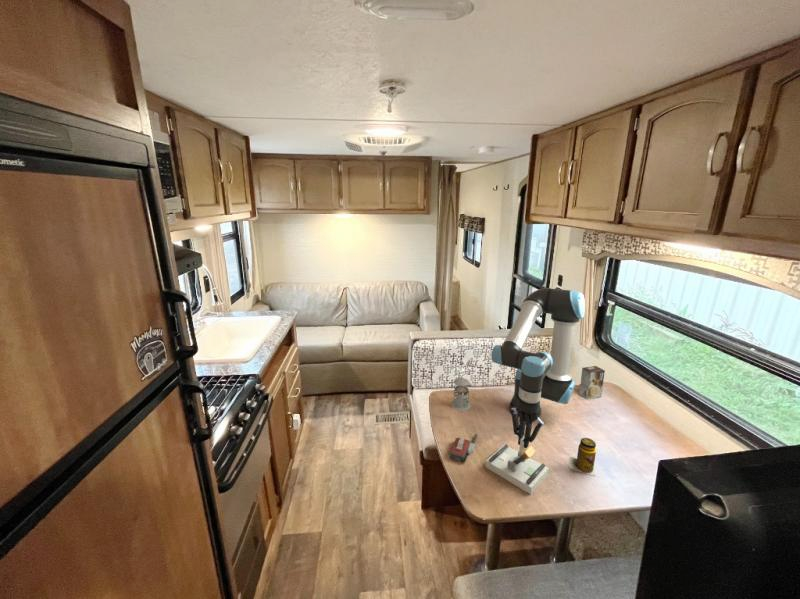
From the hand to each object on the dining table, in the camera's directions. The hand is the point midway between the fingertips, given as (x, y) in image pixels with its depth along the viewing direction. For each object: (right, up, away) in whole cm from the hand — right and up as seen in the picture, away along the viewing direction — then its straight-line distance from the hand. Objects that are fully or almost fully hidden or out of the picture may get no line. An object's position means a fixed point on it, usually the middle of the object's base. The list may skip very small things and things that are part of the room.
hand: (522, 453), depth 130 cm
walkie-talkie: (-19, -6, +17) cm, 26 cm away
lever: (-1, -5, +4) cm, 6 cm away
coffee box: (+58, +5, +58) cm, 82 cm away
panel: (-1, -9, +4) cm, 10 cm away
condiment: (+26, -8, +6) cm, 28 cm away
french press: (-14, +3, +50) cm, 53 cm away
